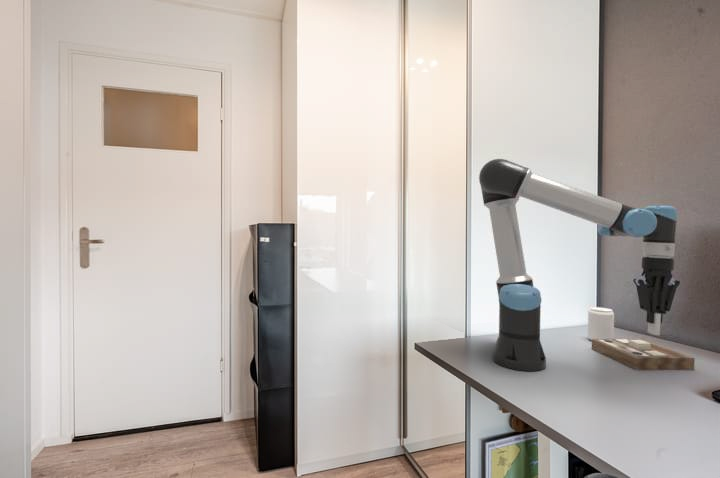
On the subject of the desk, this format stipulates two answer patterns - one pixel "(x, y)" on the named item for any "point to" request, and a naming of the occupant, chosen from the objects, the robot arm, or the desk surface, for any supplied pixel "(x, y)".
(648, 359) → the board
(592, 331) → the white cylindrical container
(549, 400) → the desk surface
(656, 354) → the button right
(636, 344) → the button mid
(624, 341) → the button left
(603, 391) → the desk surface
